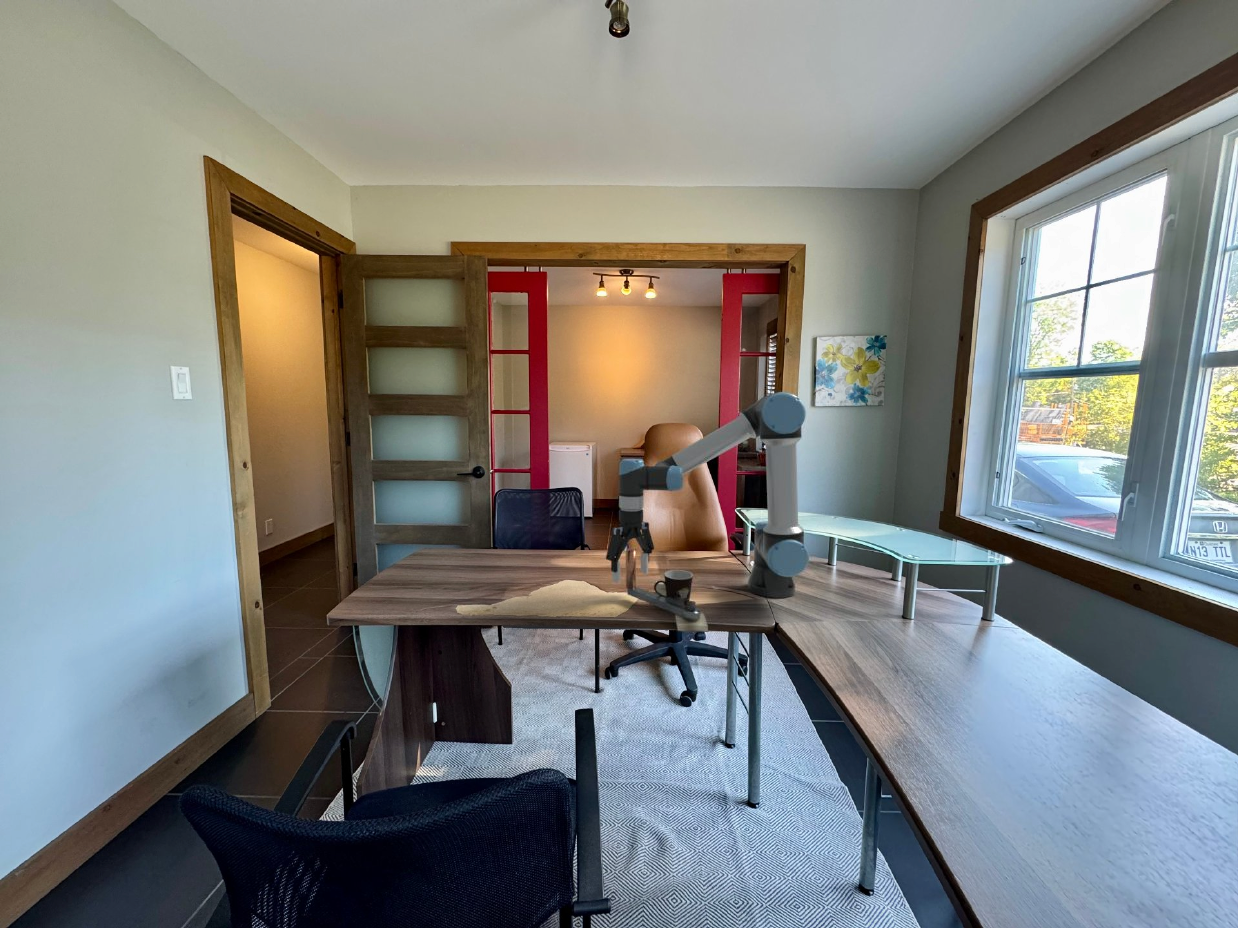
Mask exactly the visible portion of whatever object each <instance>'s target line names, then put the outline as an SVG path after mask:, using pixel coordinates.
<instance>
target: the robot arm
mask: <svg viewBox="0 0 1238 928" xmlns="http://www.w3.org/2000/svg"><path fill="white" fill-rule="evenodd" d="M806 413H807V411H806V407H805V404H804V402H803V401H802V399H800V397H798V396H796V395H795V394H793V393H789V392H787V391H786V392H785V391H779V392H773V393H772V394H767V395H765V396H762V397H761V398H760V399H758V400H757V401H756V402H754V403H753V404H752V405H750V406H749V407H748V408H746V409H745V410H743V411H741V412H739V414H738V417H737V418H735V419H734V420H732V421H730V422H727V423H726V424H725V425H723V426H721V427H720V428H718V429H717V428H716V430H714V431H712V432H711V433H708V434H707V435H706V436H703V437H701V438H700V439H698V440H696V441H695V442H694V443H691V444H690V445H688V446H686V447H685V448H683V449H681V450H679V451H678V452H676V453H674V454H672V455H671V456H669V457H667V458H666V459H665V458H664V459H663V460H660V461H658V462H657V463H655V464H654V465H645V462H644V460H643V459H642V458H623V459H622V460H620V462H619V469H618V470H619V471H618V472H619V473H618V489H619V490H618V491H619V492H618V493H619V494H618V495H619V496H618V499H619V500H618V507H619V508H620V509H619V510H618V520H619V523H620V525H619V527H612V529H611V538H610V542H609V544H608V548H607V552H606V555H605V559H606V561H610V569H611V572H612V582H614V583H616V584H617V583H618V584H620V583H621V561H619V560H620V558H621V556H622V553H623V552H624V549H625V548H626V545H627V543H629V541H630V540H632V539H635V540H636V542H637V544H638V546H639V547H640V549H641V552H640V572H641V573H642V574H646V575H648V574H649V563H650V554H652V553H653V551H654V550H655V545H654V542H653V538H652V534H651V531H650V523H649V522H648V521H644V510H643V508H644V491H668V492H673V491H676V492H677V491H681V490H682V489H683V486H684V485H683V483H684V481H683V479H684V475H686V474H688V473H689V472H691V471H694V470H695V469H697V468H699V467H700V466H701V465H704V464H706V463H707V462H709V461H710V460H713V459H715V458H717V457H718V456H719V455H722V454H723V453H726V452H727V451H729V450H731V449H732V448H734V447H736V446H738V445H739V444H741V443H744V442H745V441H747V440H748V439H750V438H751V439H756V438H758V437H759V440H760V441H761V442H762V444H764V445H765V464H766V465H765V466H766V467H765V469H766V470H765V471H766V493H767V495H766V497H767V498H766V499H767V501H766V503H767V521H757V522H756V523H755V524H754V525H755V528H754V531H753V532H754V550H753V551H754V553H753V554H754V556H753V567H752V569H751V571H750V574H749V577H748V581H747V589H748V590H749V591H750V592H752V593H753V594H756V595H759V596H762V597H768V598H775V599H777V598H779V599H780V598H781V599H783V598H789V597H792V596H794V595H796V583H795V580H794V577H796V576H798V575H799V574H801V573H803V571H805V570H806V568H807V567H808V565H809V562H810V561H809V560H810V554H809V551H808V548H807V546H806V545H805V529H804V528H803V527H802V526H801V525H800V524H799V503H798V500H799V499H798V468H797V467H798V466H797V465H798V464H797V462H798V461H797V459H798V458H797V456H798V455H797V443H798V442H799V441H800V440H802V438H803V437H802V426H803V425H804V423H805V420H806Z"/></svg>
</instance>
